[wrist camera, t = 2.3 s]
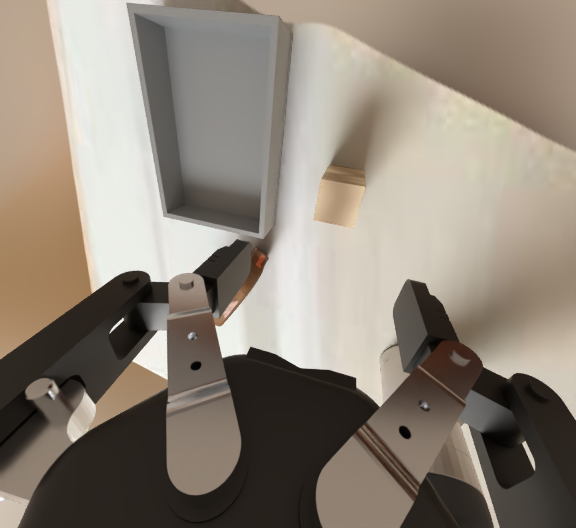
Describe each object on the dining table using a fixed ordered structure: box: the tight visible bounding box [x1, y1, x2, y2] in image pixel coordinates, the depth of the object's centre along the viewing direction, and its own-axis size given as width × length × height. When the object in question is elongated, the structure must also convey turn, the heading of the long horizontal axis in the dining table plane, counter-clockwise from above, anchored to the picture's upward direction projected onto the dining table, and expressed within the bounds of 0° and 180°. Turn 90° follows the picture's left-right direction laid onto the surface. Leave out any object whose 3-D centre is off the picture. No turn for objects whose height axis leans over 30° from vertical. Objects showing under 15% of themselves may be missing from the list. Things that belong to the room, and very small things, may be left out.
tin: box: [213, 247, 269, 326], centre depth 37 cm, size 15×3×8 cm, turn 144°
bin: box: [127, 3, 293, 239], centre depth 27 cm, size 14×20×5 cm
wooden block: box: [314, 165, 366, 228], centre depth 26 cm, size 4×4×8 cm
